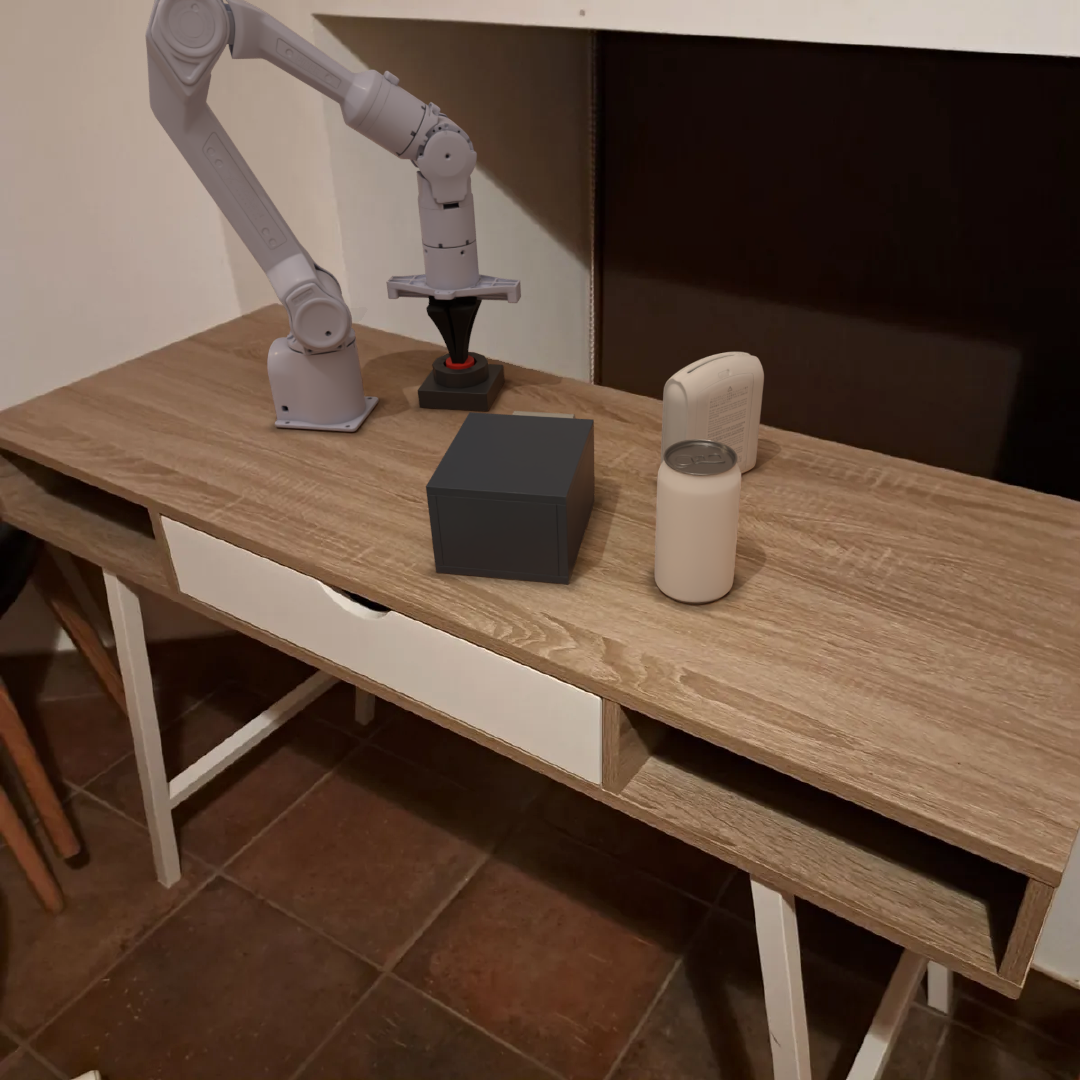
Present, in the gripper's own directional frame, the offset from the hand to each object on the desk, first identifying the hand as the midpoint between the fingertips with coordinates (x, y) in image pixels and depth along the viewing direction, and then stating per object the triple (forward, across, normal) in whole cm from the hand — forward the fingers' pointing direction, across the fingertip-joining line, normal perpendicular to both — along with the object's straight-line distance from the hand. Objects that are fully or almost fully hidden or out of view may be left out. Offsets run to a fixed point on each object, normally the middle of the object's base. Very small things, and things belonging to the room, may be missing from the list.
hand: (460, 360), depth 114 cm
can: (+4, +29, -33) cm, 44 cm away
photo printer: (+4, +29, -15) cm, 33 cm away
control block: (+4, 0, 0) cm, 4 cm away
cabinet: (+4, +13, -28) cm, 31 cm away
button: (+2, 0, 0) cm, 2 cm away
